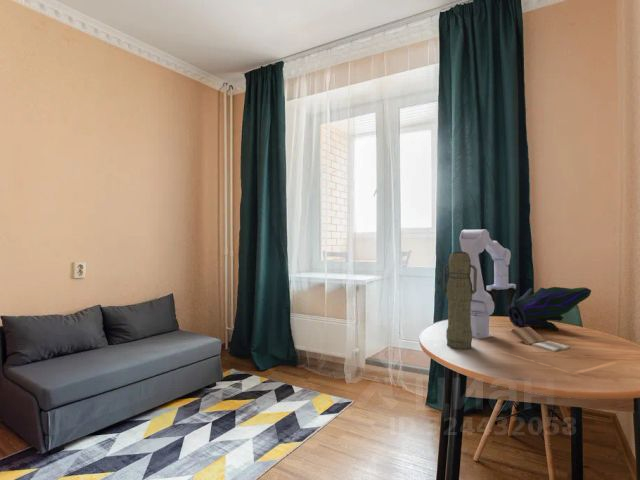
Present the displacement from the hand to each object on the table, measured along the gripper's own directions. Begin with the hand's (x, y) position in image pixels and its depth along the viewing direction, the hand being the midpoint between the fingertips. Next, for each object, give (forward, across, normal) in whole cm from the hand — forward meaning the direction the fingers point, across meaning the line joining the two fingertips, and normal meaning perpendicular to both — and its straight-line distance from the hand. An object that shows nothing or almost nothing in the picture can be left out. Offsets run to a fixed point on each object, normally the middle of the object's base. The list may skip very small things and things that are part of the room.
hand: (501, 305), depth 166 cm
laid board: (+10, +6, +30) cm, 32 cm away
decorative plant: (+11, -19, +4) cm, 22 cm away
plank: (+8, +7, +21) cm, 24 cm away
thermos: (+9, +36, +18) cm, 41 cm away
